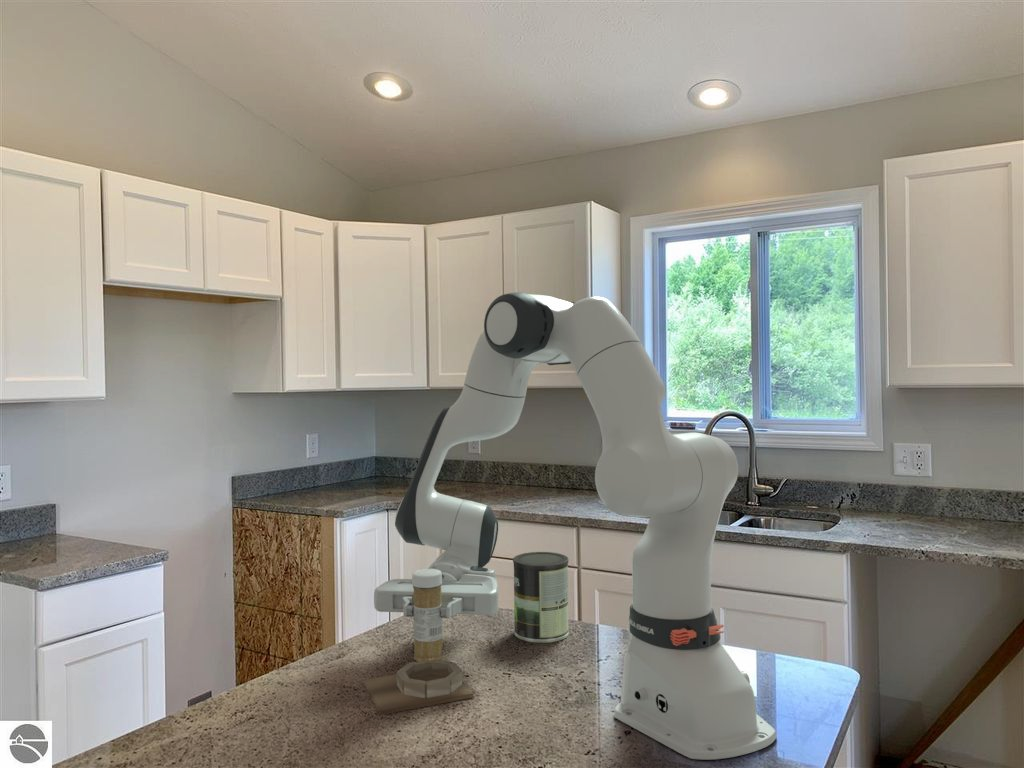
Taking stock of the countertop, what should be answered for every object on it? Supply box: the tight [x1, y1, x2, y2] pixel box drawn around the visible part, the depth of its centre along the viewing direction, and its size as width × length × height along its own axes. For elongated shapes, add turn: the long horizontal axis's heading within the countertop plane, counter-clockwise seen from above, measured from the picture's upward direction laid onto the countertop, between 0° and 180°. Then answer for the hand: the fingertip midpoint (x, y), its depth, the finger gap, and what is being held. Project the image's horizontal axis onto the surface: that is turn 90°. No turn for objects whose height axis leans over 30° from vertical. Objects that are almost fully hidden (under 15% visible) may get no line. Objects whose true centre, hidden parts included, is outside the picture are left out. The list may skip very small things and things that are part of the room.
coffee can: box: [512, 551, 570, 644], centre depth 139 cm, size 10×10×14 cm
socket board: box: [362, 659, 474, 716], centre depth 115 cm, size 12×14×3 cm
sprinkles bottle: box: [411, 568, 444, 663], centre depth 115 cm, size 5×5×14 cm
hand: (426, 612), depth 115 cm, fingers closed on sprinkles bottle, 4 cm apart
